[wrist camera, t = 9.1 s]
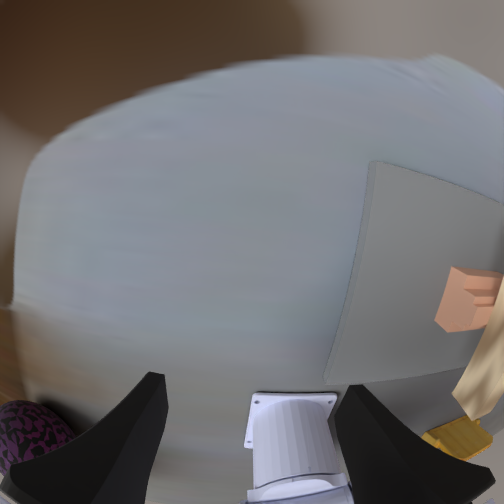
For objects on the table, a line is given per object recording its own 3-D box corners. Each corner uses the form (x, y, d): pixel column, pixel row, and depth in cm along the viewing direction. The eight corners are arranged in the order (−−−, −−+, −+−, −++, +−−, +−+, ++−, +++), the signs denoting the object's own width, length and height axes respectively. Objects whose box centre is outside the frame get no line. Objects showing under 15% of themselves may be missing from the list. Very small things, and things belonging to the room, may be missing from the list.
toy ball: (101, 420, 24) (59, 512, 10) (98, 460, 28) (72, 526, 13) (11, 360, 22) (-46, 425, 8) (25, 414, 26) (-11, 469, 11)
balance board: (468, 359, 22) (492, 384, 17) (322, 376, 22) (337, 422, 16) (515, 211, 18) (551, 222, 12) (369, 161, 17) (412, 159, 11)
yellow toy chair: (405, 456, 28) (423, 495, 20) (431, 421, 26) (456, 464, 17) (449, 439, 29) (469, 471, 20) (475, 403, 26) (500, 437, 17)
